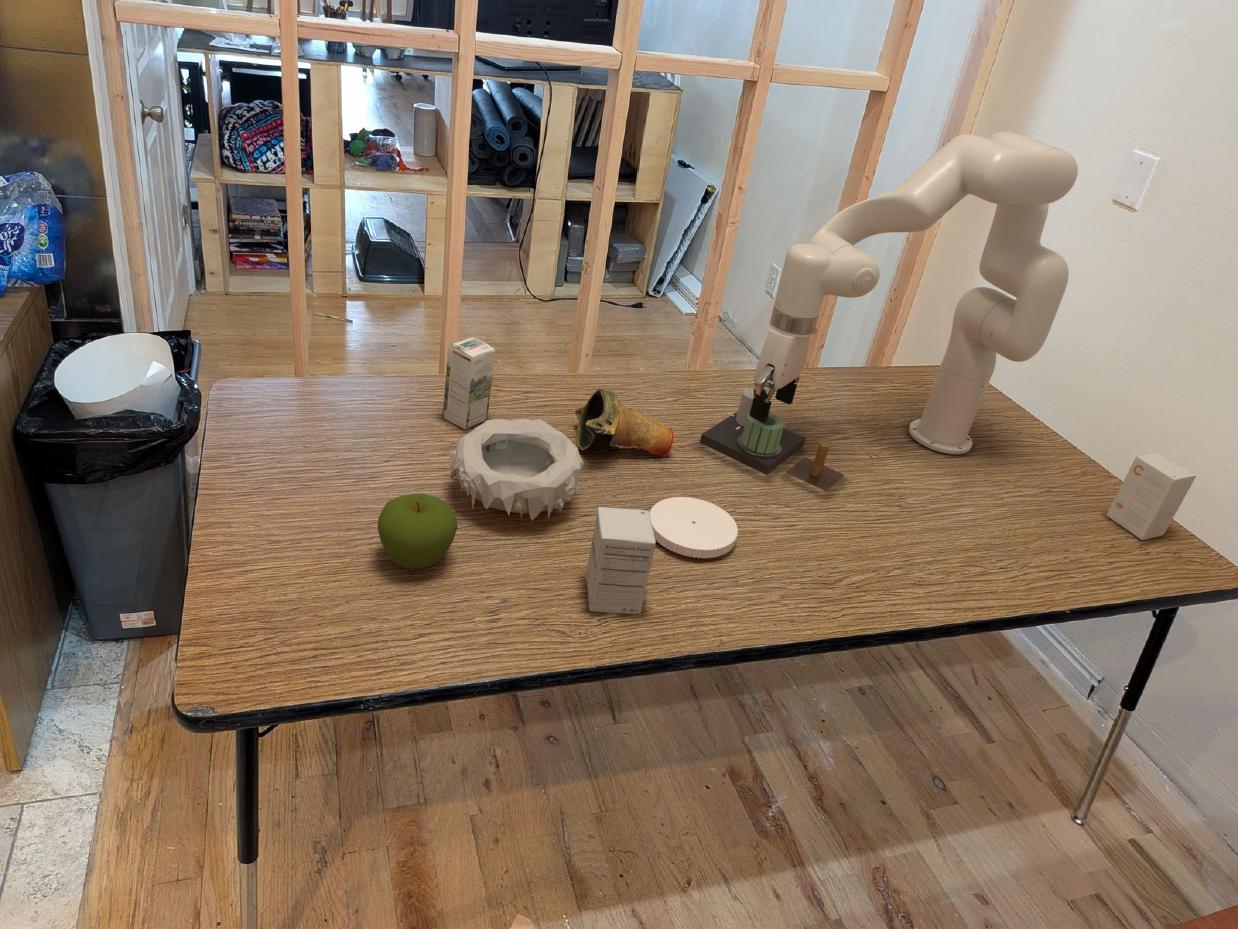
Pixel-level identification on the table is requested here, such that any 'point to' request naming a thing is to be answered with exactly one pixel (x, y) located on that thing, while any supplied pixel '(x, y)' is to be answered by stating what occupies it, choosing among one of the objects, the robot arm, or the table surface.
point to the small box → (1150, 495)
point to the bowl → (517, 466)
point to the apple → (416, 529)
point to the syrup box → (468, 382)
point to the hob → (726, 443)
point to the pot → (619, 427)
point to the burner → (754, 453)
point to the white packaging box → (619, 560)
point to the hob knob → (744, 406)
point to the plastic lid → (693, 527)
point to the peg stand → (816, 470)
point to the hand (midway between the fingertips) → (770, 410)
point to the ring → (762, 434)
